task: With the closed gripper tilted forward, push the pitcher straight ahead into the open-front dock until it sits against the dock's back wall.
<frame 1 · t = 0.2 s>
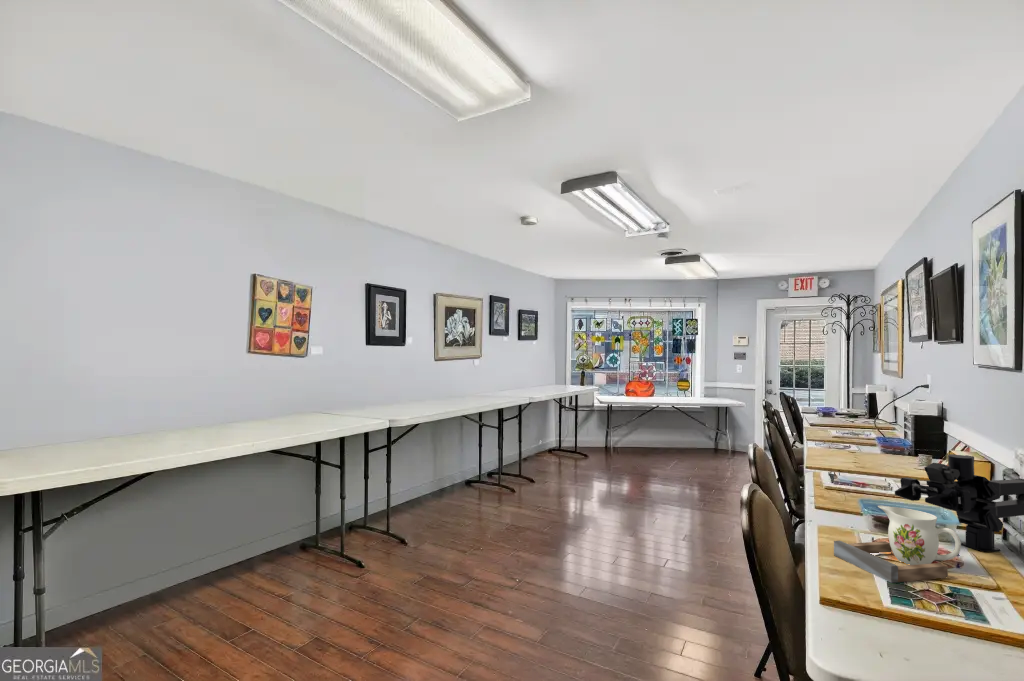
hand: (909, 496, 152), 16 cm above the table, tool horizontal, fingers open, 9 cm apart
pitcher: (917, 564, 144), on the table
dock: (887, 566, 142), on the table
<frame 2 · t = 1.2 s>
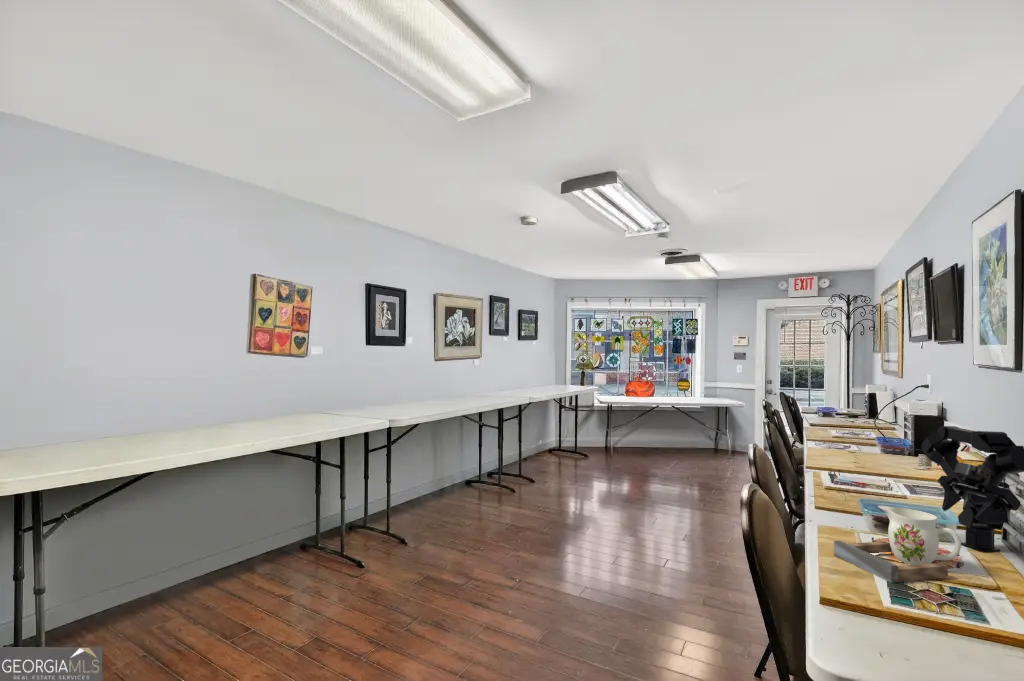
hand: (959, 514, 148), 13 cm above the table, tool tilted 45°, fingers open, 9 cm apart
nothing on the table moved.
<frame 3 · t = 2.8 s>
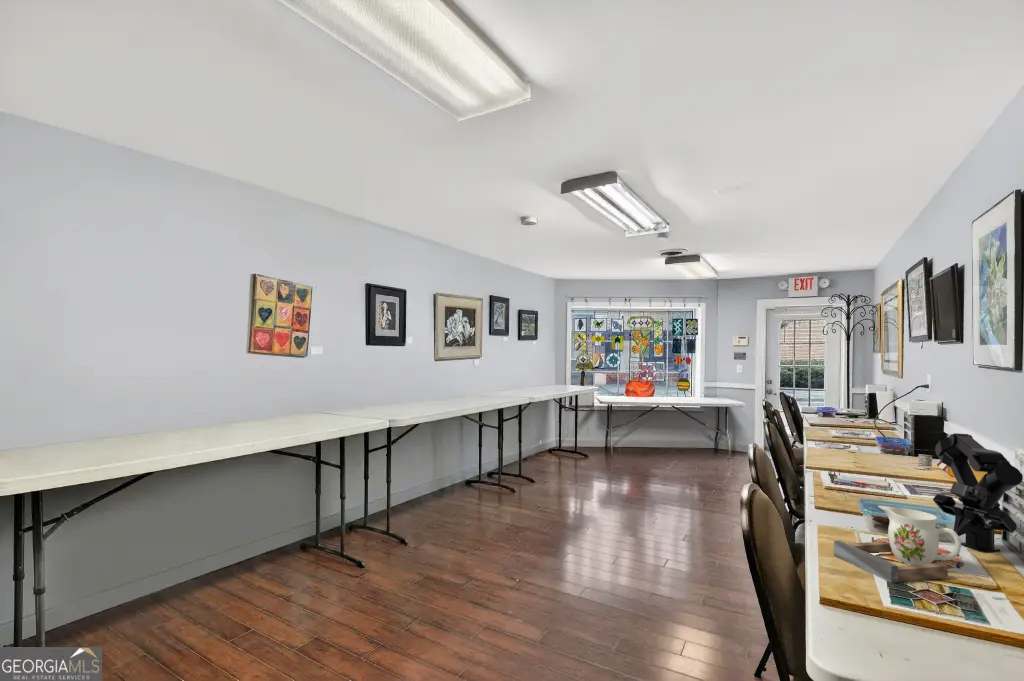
hand: (955, 535, 147), 7 cm above the table, tool tilted 45°, fingers closed
nothing on the table moved.
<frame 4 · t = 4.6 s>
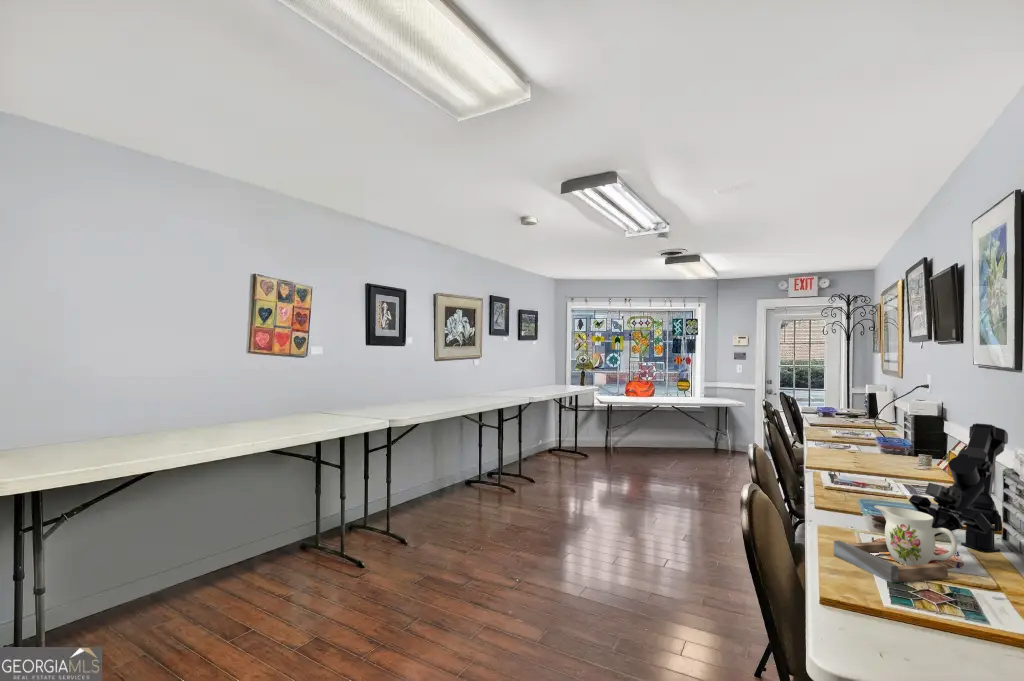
hand: (929, 536, 145), 7 cm above the table, tool tilted 45°, fingers closed, pressing on pitcher
pitcher: (914, 564, 144), on the table, touching gripper
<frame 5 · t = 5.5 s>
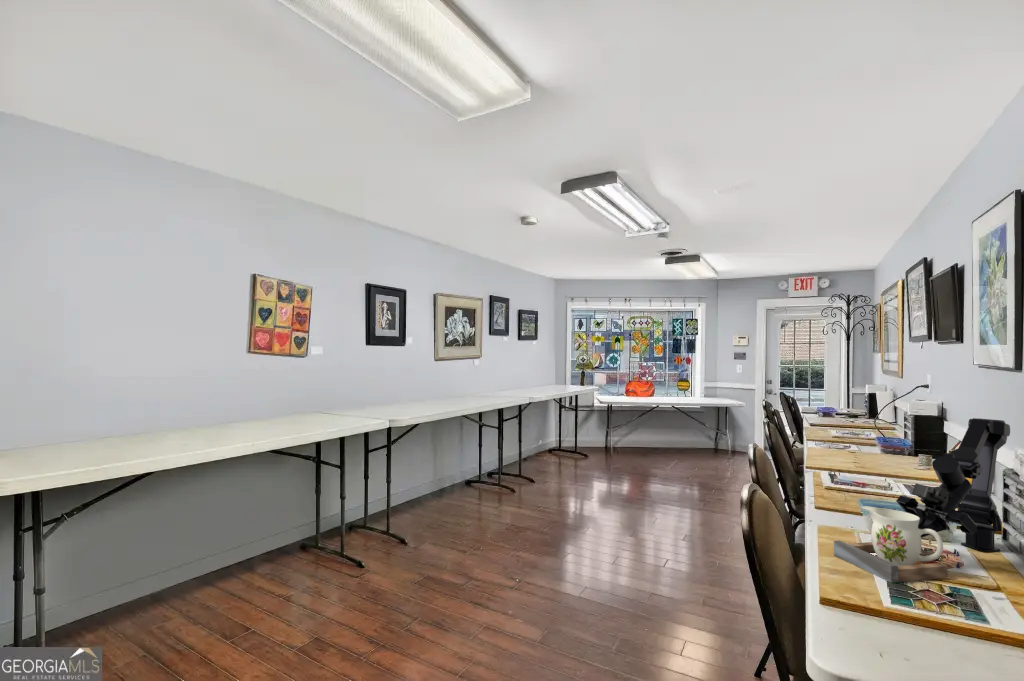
hand: (916, 537, 144), 7 cm above the table, tool tilted 45°, fingers closed, pressing on pitcher
pitcher: (900, 565, 143), on the table, touching gripper
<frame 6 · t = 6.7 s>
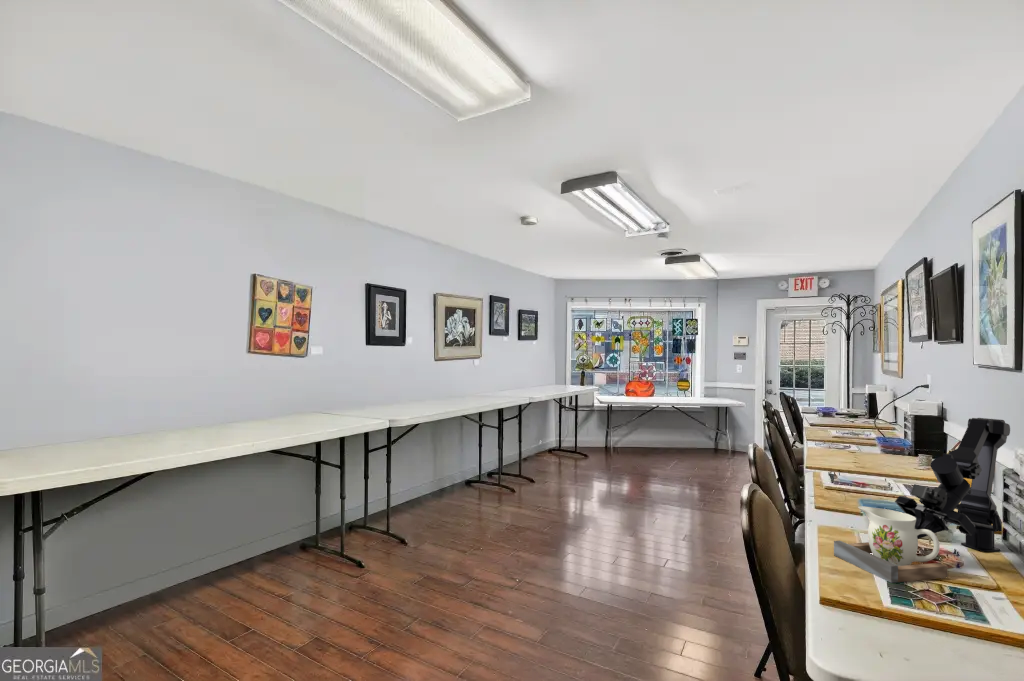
hand: (915, 537, 144), 7 cm above the table, tool tilted 45°, fingers closed
pitcher: (896, 565, 143), on the table
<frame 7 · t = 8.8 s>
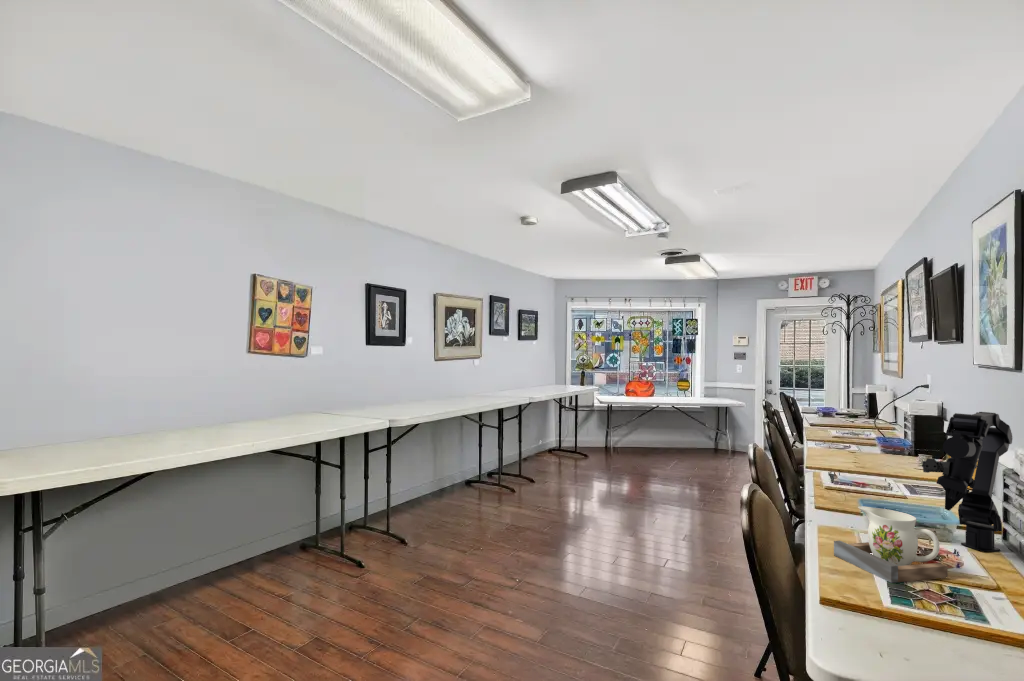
hand: (947, 509, 153), 12 cm above the table, tool pointing down, fingers closed
nothing on the table moved.
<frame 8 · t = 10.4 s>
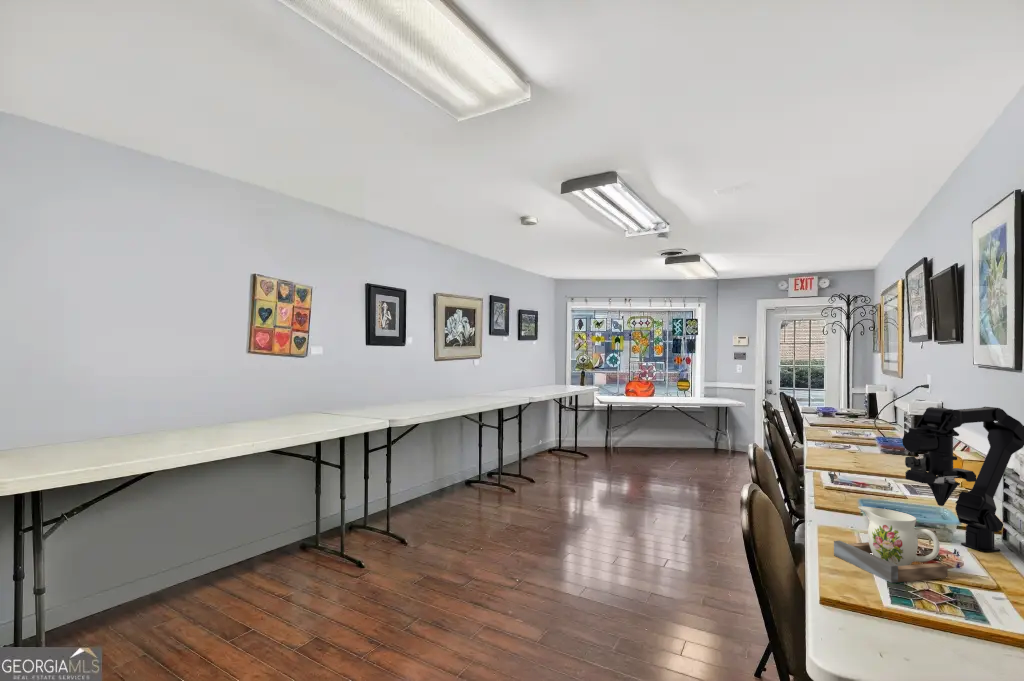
hand: (940, 505, 155), 13 cm above the table, tool pointing down, fingers closed
nothing on the table moved.
at the end: pitcher inside the target area (0.5 cm from its centre), on the table; pitcher tilted 0° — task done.
